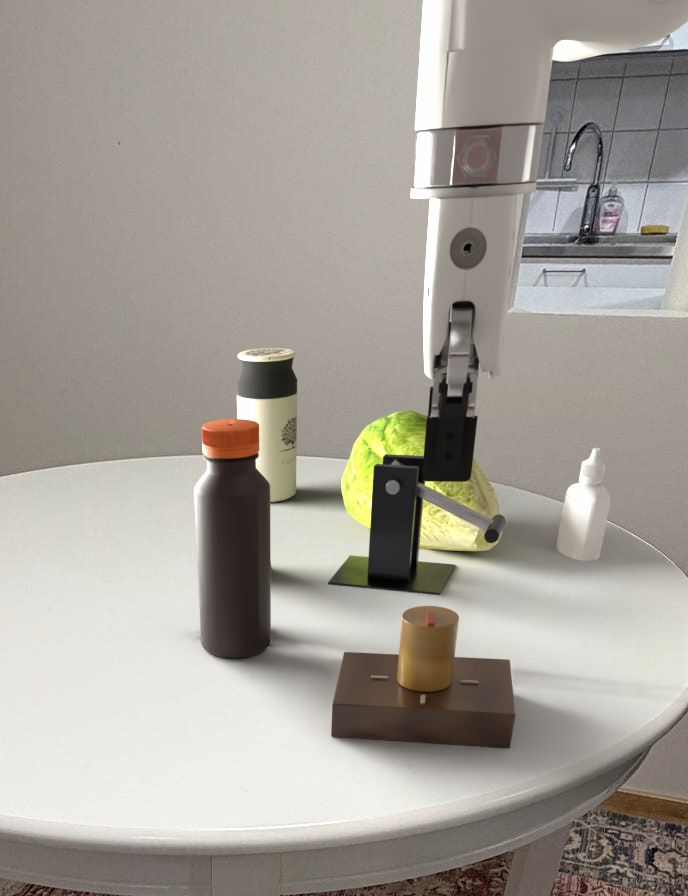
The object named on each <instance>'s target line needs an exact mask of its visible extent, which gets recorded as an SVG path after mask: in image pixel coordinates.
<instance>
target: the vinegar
mask: <svg viewBox="0 0 688 896" xmlns="http://www.w3.org/2000/svg"><path fill="white" fill-rule="evenodd" d="M201 440H202V441H201V443H202V454H203V460H204V461H205V462H206V470H205V472H204V473H203V474H202V475H201V477H200V478H199V479H198V481H197V482H196V483H195V485H194V488H193V504H194V523H195V524H194V526H195V544H196V545H195V547H196V563H197V564H196V566H197V585H198V587H197V588H198V605H199V606H198V607H199V625H200V644H201V646H202V648H203V650H204V651H205V652H207V653H209V654H210V655H213V656H216V657H219V658H226V659H243V658H250V657H253V656H256V655H259V654H261V653H263V652H264V651H266V650H267V649H268V648H269V646H270V645H271V640H272V639H271V636H272V635H271V634H272V625H271V624H272V623H271V621H272V620H271V619H272V617H271V616H272V609H271V608H272V607H271V606H272V605H271V604H272V601H271V599H272V597H271V595H272V593H271V592H272V591H271V588H272V586H271V582H272V581H271V580H272V579H271V578H272V575H271V567H272V562H270V560H271V502H270V484H269V482H268V481H267V479H266V478H265V477H264V476H263V475H262V474H261V473H260V472H259V471H258V470H257V469H256V459H257V458H258V457H259V454H258V452H259V424H258V423H257V422H255V421H252V420H246V419H237V418H225V419H217V420H212V421H209V422H206V423H204V424H202V426H201Z"/></svg>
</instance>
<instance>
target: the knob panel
mask: <svg viewBox="0 0 688 896" xmlns="http://www.w3.org/2000/svg"><path fill="white" fill-rule="evenodd" d="M398 659H399V653H380V652H379V653H375V652H355V651H354V652H353V651H344V652H343V655H342V660H341V664H340V668H339V673H338V678H337V681H336V686H335V690H334V695H333V700H332V704H331V725H330V726H331V729H330V731H331V732H330V736H331V737H332V738H333V737H334V738H346V739H347V738H349V739H364V740H377V741H379V740H381V741H395V742H410V743H411V742H412V743H424V744H425V743H427V744H442V745H457V746H475V747H487V748H489V747H492V748H506V749H509V748H511V744H512V739H513V732H514V726H515V720H516V706H515V697H514V696H515V695H514V687H513V686H514V685H513V678H512V667H511V660H510V659H509V658H508V659H506V658H505V659H504V658H485V657H484V658H483V657H463V656H455V657H454V666H453V674H452V682H451V684H450V685H449V686H448V687H447V688H445V689H442V690H439V691H433V692H421V691H414V690H410V689H407V688H405V687H403V686H402V685H400V684H399V683H398V681H397V671H398Z"/></svg>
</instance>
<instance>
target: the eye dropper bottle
mask: <svg viewBox="0 0 688 896" xmlns="http://www.w3.org/2000/svg"><path fill="white" fill-rule="evenodd" d="M580 466H581V467H580V472H579V478H578V482H576V483H572V484H570V485H569V486H568V488H567V489H566V491H565V495H564V496H565V497H564V501H563V506H562V513H561V518H560V523H559V530H558V536H557V541H556V550H557V551H559V553H560V554H562V555H564V556H566V557H568V558H570V559H573V560H577V561H580V562H589V561H590V562H591V561H598V560H600V556H601V551H602V547H603V541H604V536H605V533H606V526H607V522H608V517H609V512H610V506H611V496H610V493H609V491H608V490H607V488H606V487H605V486H604V485H603V484H602V483H603V482H604V477H605V472H606V468H607V462H606V461H604V460H603V459H602V458H601V448H600V447H593V448H592V451H591V454H590V456H589V457H588V459H584V460H583V461H582V462H581V465H580Z"/></svg>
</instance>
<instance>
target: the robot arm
mask: <svg viewBox="0 0 688 896" xmlns="http://www.w3.org/2000/svg"><path fill="white" fill-rule="evenodd" d="M687 22H688V0H422V12H421V26H420V27H421V29H420V42H419V43H420V44H419V57H418V58H419V59H418V71H417V73H418V74H417V86H416V87H417V89H416V105H415V106H416V107H415V119H414V120H415V121H414V131H415V133H414V136H413V150H412V165H411V182H410V187H411V188H410V199H417V200H428V199H429V207H428V219H427V221H428V223H427V235H426V251H425V265H424V283H423V284H424V285H423V308H422V310H423V311H422V313H423V315H422V318H423V319H422V335H423V337H422V338H423V342H422V343H423V369H424V373H423V374H424V375H425V376H426V377H427V378H429V379H430V380H432V381H433V386H430V387H429V399H428V410H427V415H426V416H427V421H426V434H425V446H424V458H423V470H422V478H423V479H424V480H425V481H439V482H466V481H468V480H469V479H470V478H471V472H472V463H473V458H474V452H475V444H476V437H477V436H476V434H477V425H478V418H479V417H478V415H475V413H476V404H477V391H478V379H479V373H480V369H481V372H482V373H483V372H484V373H485V372H487V373H488V379H489V380H494V379H496V378H497V377H498V376H499V375H500V374H501V369H502V360H503V350H504V340H505V332H506V331H505V330H506V321H507V313H508V306H509V305H508V304H509V297H510V288H511V278H512V269H513V260H514V250H515V249H514V248H515V238H516V226H517V225H516V223H517V206H518V205H517V204H518V203H517V202H518V201H517V200H518V195H526V194H532V193H533V194H534V193H536V192H537V184H538V181H537V180H538V177H539V170H540V169H539V168H540V161H541V154H542V144H543V138H544V129H545V125H544V124H545V121H546V113H547V107H548V98H549V90H550V89H549V88H550V83H551V75H552V68H553V67H552V66H553V61H556V62H567V63H568V62H575V61H580V60H584V59H587V58H592V57H597V56H602V55H610V54H617V53H620V52H625V51H630V50H634V49H638V48H642V47H645V46H648V45H651V44H654V43H656V42H658V41H661V40H662V39H664V38H666V37H668V36H669V35H671V34H673V33H675V31H678V30H679V29H680V28H681V27H683V26H684V25H685V24H686V23H687ZM479 366H480V368H479Z"/></svg>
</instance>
